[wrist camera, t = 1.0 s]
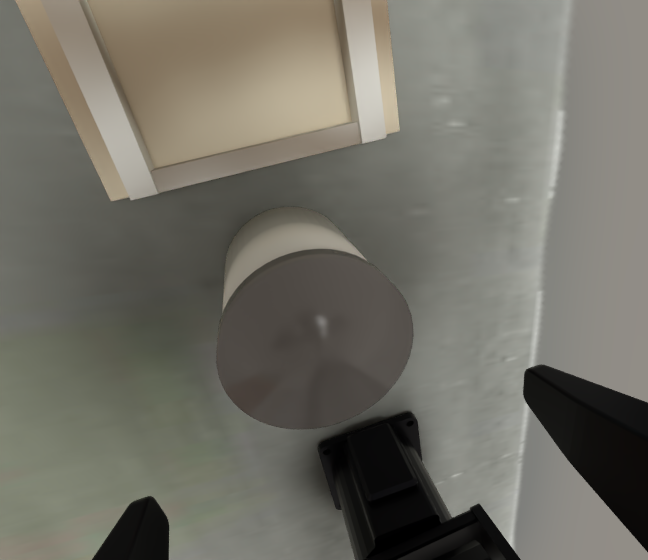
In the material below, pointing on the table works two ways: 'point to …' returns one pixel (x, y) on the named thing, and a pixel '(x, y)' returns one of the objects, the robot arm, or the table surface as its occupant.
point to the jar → (307, 323)
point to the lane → (215, 83)
